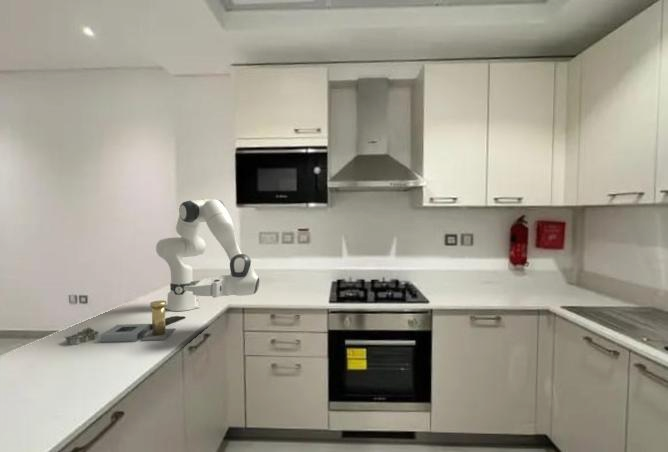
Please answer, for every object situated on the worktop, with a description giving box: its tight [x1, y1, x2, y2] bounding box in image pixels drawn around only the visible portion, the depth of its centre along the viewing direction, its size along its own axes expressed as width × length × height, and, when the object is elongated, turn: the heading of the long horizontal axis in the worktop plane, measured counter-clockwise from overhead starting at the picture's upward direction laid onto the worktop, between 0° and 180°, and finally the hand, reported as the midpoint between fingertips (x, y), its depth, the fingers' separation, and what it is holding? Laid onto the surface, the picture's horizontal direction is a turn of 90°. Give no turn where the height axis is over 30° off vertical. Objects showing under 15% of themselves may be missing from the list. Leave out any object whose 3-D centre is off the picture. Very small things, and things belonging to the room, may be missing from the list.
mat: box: [140, 327, 176, 342], centre depth 156 cm, size 14×9×1 cm, turn 6°
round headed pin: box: [149, 300, 167, 336], centre depth 156 cm, size 6×6×14 cm
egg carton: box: [64, 326, 100, 346], centre depth 150 cm, size 11×8×4 cm
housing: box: [99, 323, 152, 343], centre depth 155 cm, size 14×14×3 cm
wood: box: [150, 315, 187, 330], centre depth 174 cm, size 22×7×3 cm, turn 163°
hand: (187, 285), depth 157 cm, fingers open, 8 cm apart
